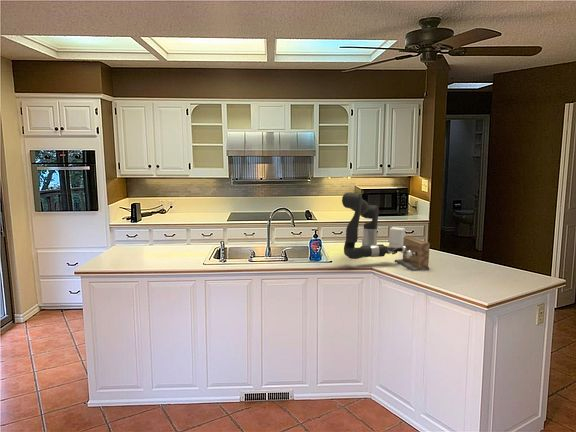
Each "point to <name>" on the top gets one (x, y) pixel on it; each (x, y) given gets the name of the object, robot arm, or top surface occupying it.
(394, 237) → the supplement box
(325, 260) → the top surface
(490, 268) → the top surface
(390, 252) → the robot arm
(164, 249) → the top surface
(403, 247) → the knob
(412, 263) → the knob panel
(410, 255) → the knob
